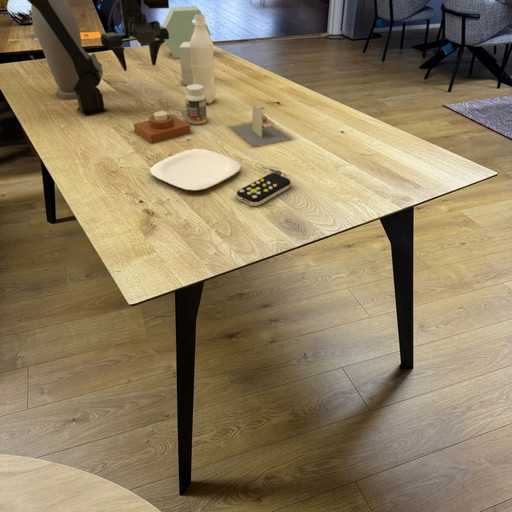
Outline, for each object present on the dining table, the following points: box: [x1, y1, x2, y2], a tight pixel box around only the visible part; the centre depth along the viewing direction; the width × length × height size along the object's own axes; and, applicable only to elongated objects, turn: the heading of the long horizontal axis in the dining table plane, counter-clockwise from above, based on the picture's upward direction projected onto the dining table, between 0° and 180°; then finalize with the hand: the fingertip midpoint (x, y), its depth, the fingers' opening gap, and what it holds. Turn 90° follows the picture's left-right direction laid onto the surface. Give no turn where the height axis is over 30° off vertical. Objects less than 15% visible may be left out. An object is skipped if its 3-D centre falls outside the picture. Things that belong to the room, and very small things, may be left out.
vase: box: [30, 0, 83, 100], centre depth 148 cm, size 13×13×35 cm
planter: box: [161, 5, 212, 59], centre depth 193 cm, size 17×8×21 cm
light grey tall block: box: [179, 42, 193, 86], centre depth 165 cm, size 7×7×13 cm
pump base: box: [133, 113, 191, 144], centre depth 131 cm, size 12×10×4 cm
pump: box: [153, 110, 168, 121], centre depth 130 cm, size 4×4×2 cm
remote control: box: [236, 173, 291, 207], centre depth 105 cm, size 6×13×2 cm, turn 138°
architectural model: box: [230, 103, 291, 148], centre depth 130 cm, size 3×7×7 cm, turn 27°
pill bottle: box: [185, 84, 207, 125], centre depth 136 cm, size 6×6×10 cm
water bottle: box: [190, 13, 217, 105], centre depth 145 cm, size 7×7×25 cm
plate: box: [149, 148, 242, 192], centre depth 112 cm, size 18×18×2 cm
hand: (139, 68), depth 140 cm, fingers open, 9 cm apart
